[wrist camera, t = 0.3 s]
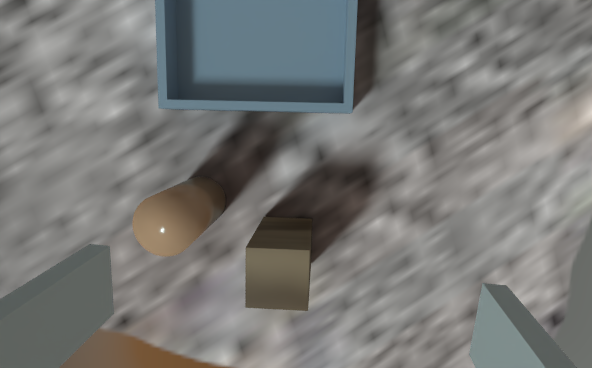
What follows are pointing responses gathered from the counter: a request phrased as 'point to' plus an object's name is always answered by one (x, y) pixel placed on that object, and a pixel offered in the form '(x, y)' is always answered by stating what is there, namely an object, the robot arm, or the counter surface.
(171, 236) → the canister
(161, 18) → the tray
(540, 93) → the counter surface
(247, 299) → the walnut block
